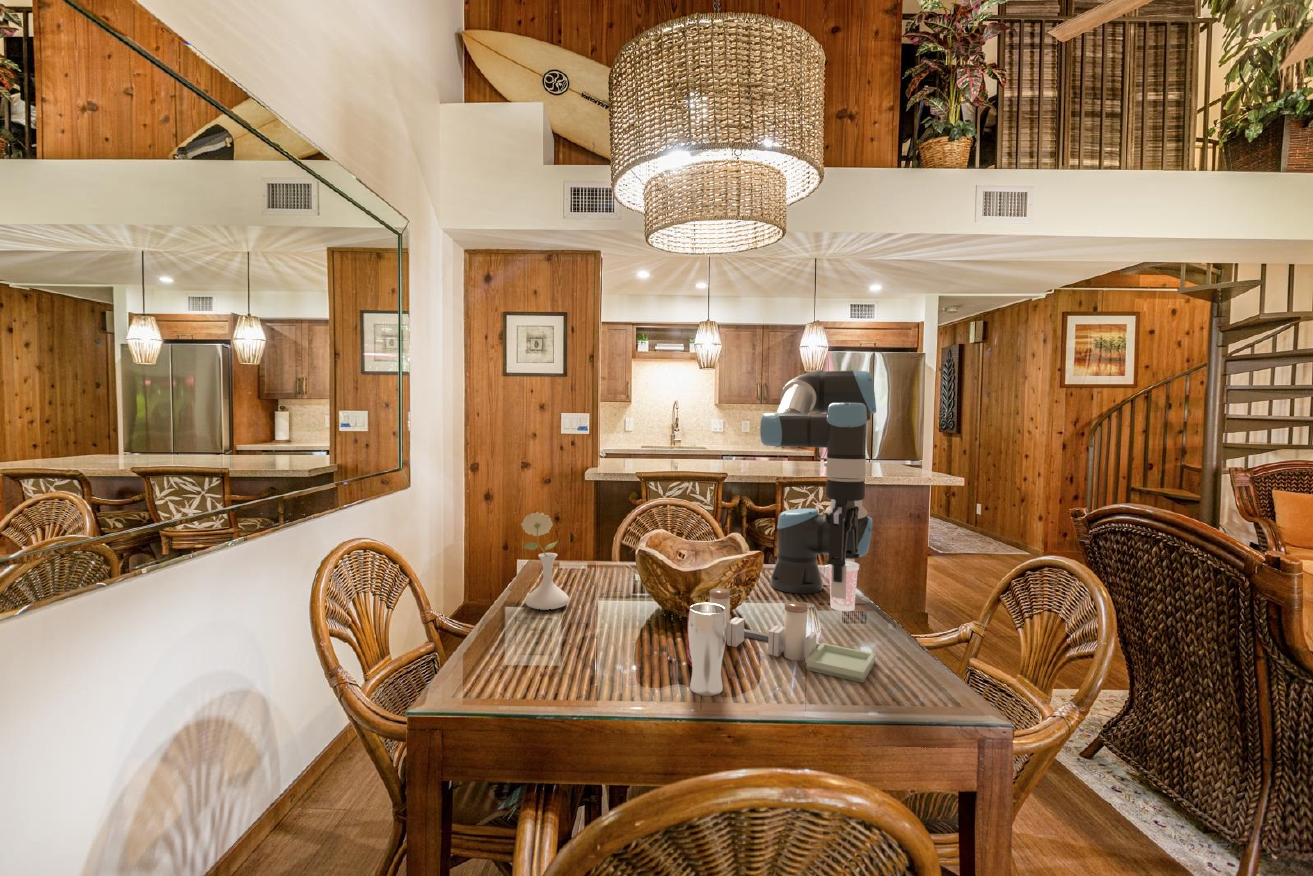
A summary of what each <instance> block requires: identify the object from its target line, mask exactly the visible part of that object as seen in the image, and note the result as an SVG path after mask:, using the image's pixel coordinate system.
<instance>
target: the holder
mask: <svg viewBox="0 0 1313 876" xmlns="http://www.w3.org/2000/svg"><path fill="white" fill-rule="evenodd" d="M817 636H818V635H817V632H813V631H812V632H811V633H810V634H809V635H808V636H806V639H805V659H804V663H805V664H806V660H807V659H808V658H809V657H810V655H811V654H812V653H813V652H814V651H815V650H816V649H817V648H818V647H819V646H820V645H821V644H818V643H817V638H818V637H817ZM745 638H750V639H753V640H759V641H764V642H767V644H768V645H767V655H769V656H774V657H779V656H780V655H781V654H783V653H784V626H781V625H776V624H775V626H773V627H771V628H770V629H769V630H768V633H767V632H760V631H757V630H756V631H755V630H752V629H746V628H745V618H740V617H733V618H732V619H730V621H729V622H727V642H726V645H727V646H730V647H734V648H737V647H738V646H739V645H741V644H742V643H743V642H744V641H745Z"/></svg>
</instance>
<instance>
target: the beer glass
mask: <svg viewBox="0 0 1313 876" xmlns="http://www.w3.org/2000/svg"><path fill="white" fill-rule="evenodd" d="M698 603H699V604H697V603H694V604H695V605H693V604H692V605H690V607H689V612H690V615H689V627H688V637H689V646H690V653H691V659H692V666H691V667H692V669H691V671H692V672H691V677H690V678H691V679H690V684H689V689H690V691H691V692H692V693H694V694H696V695H699V696H702V697H712V696H717V695H718V696H719V695H720V694H721V693H722V692H723V691H724V690H723V689H724V686H723V685H724V684H723V679H722V663H723V659H724V654H725V649H726V643H727V642H726V614H725V608H724V607H723V606H721V605H718V604H712V603H710V602H698ZM725 642H726V643H725Z"/></svg>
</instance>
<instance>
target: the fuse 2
mask: <svg viewBox="0 0 1313 876" xmlns="http://www.w3.org/2000/svg"><path fill="white" fill-rule="evenodd" d="M807 611H808V605H807V604H806V602H802V601H801V602H800V601H795V600H794V601H793V600H792V601H786V602H784V624H783V625H784V626H783V627H784V651H783V656H784V658H785V659H788V660H791V661H804V660H805V639H806V638H807V619H808V618H807V614H808V613H807ZM803 659H804V660H803Z"/></svg>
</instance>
